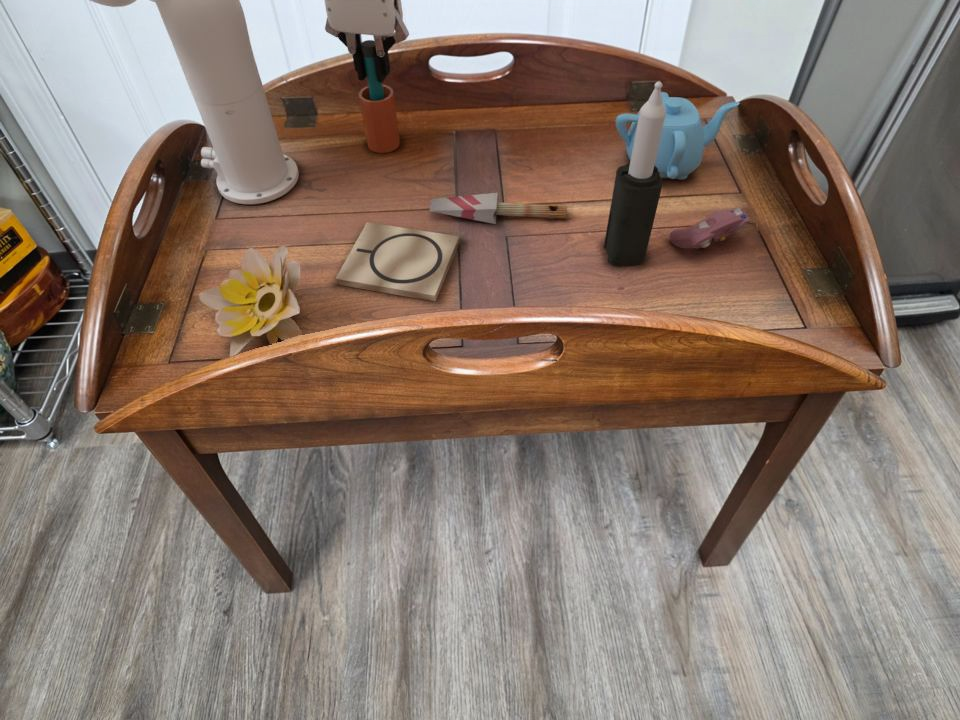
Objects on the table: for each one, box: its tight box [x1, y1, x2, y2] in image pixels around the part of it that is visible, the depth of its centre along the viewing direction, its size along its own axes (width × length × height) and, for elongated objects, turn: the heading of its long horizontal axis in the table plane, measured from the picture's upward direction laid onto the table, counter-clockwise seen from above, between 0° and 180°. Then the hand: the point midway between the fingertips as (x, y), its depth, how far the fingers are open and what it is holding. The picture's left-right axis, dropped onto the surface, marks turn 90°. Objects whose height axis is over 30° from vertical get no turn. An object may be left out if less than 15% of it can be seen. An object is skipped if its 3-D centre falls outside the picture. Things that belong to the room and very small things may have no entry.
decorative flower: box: [198, 245, 303, 358], centre depth 80 cm, size 15×11×10 cm
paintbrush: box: [429, 192, 568, 225], centre depth 95 cm, size 4×3×20 cm
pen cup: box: [358, 83, 401, 154], centre depth 105 cm, size 5×6×9 cm
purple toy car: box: [669, 207, 751, 250], centre depth 89 cm, size 10×5×7 cm, turn 117°
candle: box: [603, 80, 666, 267], centre depth 81 cm, size 5×5×25 cm
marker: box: [361, 39, 385, 101], centre depth 101 cm, size 2×2×14 cm
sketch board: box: [335, 221, 461, 302], centre depth 90 cm, size 14×12×1 cm
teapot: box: [615, 91, 740, 180], centre depth 99 cm, size 13×14×11 cm
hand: (373, 76), depth 99 cm, fingers closed on marker, 2 cm apart
